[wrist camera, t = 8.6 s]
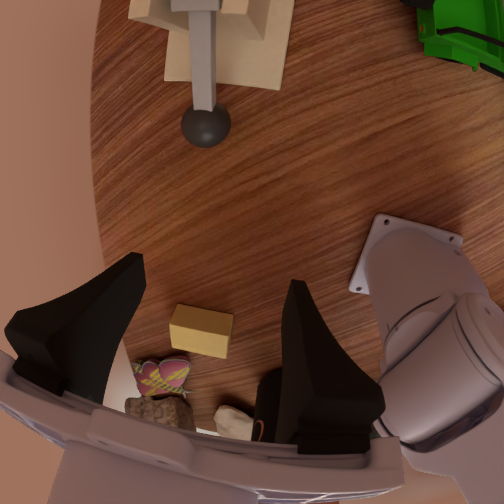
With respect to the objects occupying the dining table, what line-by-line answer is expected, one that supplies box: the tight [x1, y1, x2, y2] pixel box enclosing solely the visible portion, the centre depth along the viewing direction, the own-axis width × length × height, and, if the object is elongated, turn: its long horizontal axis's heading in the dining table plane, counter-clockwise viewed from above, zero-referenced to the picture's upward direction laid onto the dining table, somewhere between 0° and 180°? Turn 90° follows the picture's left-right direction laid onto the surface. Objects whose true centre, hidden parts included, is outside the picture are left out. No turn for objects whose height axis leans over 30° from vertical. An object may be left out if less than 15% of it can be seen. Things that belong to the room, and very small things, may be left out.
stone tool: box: [214, 405, 254, 441], centre depth 45 cm, size 13×28×5 cm, turn 15°
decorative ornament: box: [132, 356, 197, 398], centre depth 38 cm, size 17×2×10 cm
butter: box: [169, 304, 233, 359], centre depth 30 cm, size 6×4×3 cm, turn 83°
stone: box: [125, 396, 196, 432], centre depth 42 cm, size 13×17×15 cm
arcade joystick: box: [171, 0, 231, 148], centre depth 12 cm, size 12×3×3 cm, turn 173°
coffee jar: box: [251, 368, 339, 504], centre depth 29 cm, size 11×11×18 cm
